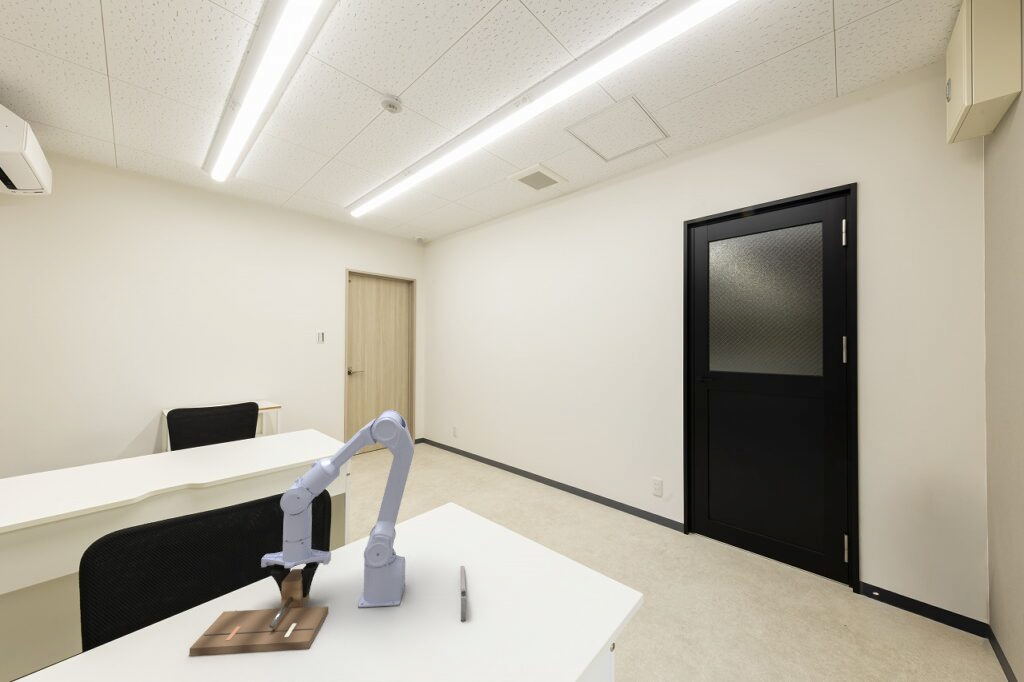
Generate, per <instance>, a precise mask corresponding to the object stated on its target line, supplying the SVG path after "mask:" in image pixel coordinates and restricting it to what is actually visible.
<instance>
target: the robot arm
mask: <svg viewBox="0 0 1024 682" xmlns="http://www.w3.org/2000/svg"><path fill="white" fill-rule="evenodd" d="M377 442H378V443H380V444H381V445H382V446H384V447H386V448H387V449H388V451H389V452H390V453H391V455H392V457H393V458H392V462H391V466H390V469H389V474H388V476H387V481H386V485H385V488H384V493H383V497H382V501H381V503H380V508H379V511H378V512H379V513H378V515H377V519H376V524H375V525H374V526H373V527H372V528H371V530H370V533H369V536H368V537H369V538H368V541H367V543H366V547H365V549H364V551H363V560H364V561H363V562H364V564H363V565H364V567H363V592H362V594H361V597H360V599H359V601H358V604H357V608H369V607H389V606H392V607H393V606H400V604H401V601H402V598H403V594H404V592H405V591H404V590H405V587H406V557H405V556H401V555H397V552H396V551H395V549H394V542H395V539H396V529H395V528H396V527H395V526H396V523H397V518H398V515H399V511H400V507H401V504H402V499H403V496H404V491H405V488H406V484H407V481H408V478H409V477H408V476H409V473H410V470H411V469H410V468H411V466H412V462H413V458H414V454H415V444H414V441H413V439H412V436H411V433H410V430H409V428H408V422H407V421H406V419H405V418H404V417H403V416H402V415H401V413H399V412H398V411H396V410H392V409H388V410H385V411H383V412H381V413H380V414H379V416H378V417H375V418H374V419H372V420H371V421H369V422H368V423H367V424H365V425H364V426H363V427H361V428H360V429H359V430H358V431H357V432H356V433H355V434H354V435H353V436H352V437H351V438H350V439H349V440H348V441H347V442H346V443H344V445H343V446H342V447H341V448H339V450H338V451H337V452H336V453H334V454H333V455H332V456H331V457H324V458H321V459H319V461H318V460H315V461H314V462H312V464H311V465H310V466H311V468H310V469H309V470H308V471H306V473H304V475H302V476H298V477H297V478H296V479H295V480H294V482H295V483H293V484H292V485H291V486H290V487H289V488H288V489H287V490H286V491H284V493H283V495H282V496H281V499H280V502H279V506H280V508H281V510H282V511H283V527H282V528H283V530H282V533H283V534H282V551H280V552H275V553H266V554H265V555H263V556H262V558H261V560H260V561H261V562H260V563H261V564H260V566H261V567H260V568H266V567H267V566H273V567H272V570H271V571H270V576H271V577H272V579H273V580H274V581H275V583H276V584H277V588H278V590H279V593H280V594H281V593H282V582H283V580H284V579H285V578H286V577H287V575H288V574H289V573H290V572H291V570H292V569H294V567H295V566H299V565H305V566H304V567H303V568H301V569H302V571H301V574H302V579H303V598H304V597H307V595H308V594H309V595H310V592H311V587H312V584H313V583H312V582H313V580H314V576H315V574H316V572H317V570H318V568H319V565H320V564H323V565H324V566H327V565H329V563H330V562H331V561H332V551H323V550H318V549H314V548H313V549H312V528H313V527H312V521H313V519H312V518H313V514H312V513H313V512H312V507H313V506H312V505H313V503H312V502H313V500H314V499H315V497H319V495H320V494H321V493H322V492H324V490H325V489H327V488H328V487H329V486H330V485H331V484H332V483H333V482H334V481H335V480H336V479H338V477H339V476H340V472H341V467H342V466H343V465H345V464H346V463H347V462H348V461H349V460H350V459H351V458H353V456H355V455H356V454H357V453H358V452H359V451H361V449H363V448H364V447H366V446H375V445H376V444H377Z"/></svg>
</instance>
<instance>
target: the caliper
mask: <svg viewBox="0 0 1024 682" xmlns="http://www.w3.org/2000/svg"><path fill="white" fill-rule="evenodd" d="M465 576H466V575H465V565H460V621H461V622H462V621H464V622H465V621H466V604H467V599H466V598H467V597H466V595H467V594H466V593H467V591H466V589H467V588H466V579H465V578H466V577H465Z"/></svg>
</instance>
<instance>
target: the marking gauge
mask: <svg viewBox="0 0 1024 682" xmlns="http://www.w3.org/2000/svg"><path fill="white" fill-rule="evenodd" d="M302 569H303V568H291V570H290V573H289V574H288V575H287V577H286V578H285V579H284V580H283V582H282V593H280V597H281V602H280V603H281V604H280V608H279V609H280V611H279V612H278V614H277V615H276V616H275V618H274V619H273V621H272V622H271V623H270V625H269V627H270V628H272V631H274V630H275V625H276V623H277V622H278V620H279V619H280V618H281V616H282V615H283V613H284V612H285V610H286V609H287V608H304V607H305V606H306V603H307V602H308V601H309V599H310V593H309V594H308V595H307V597H304V598H303V579H302V574H301V571H302Z"/></svg>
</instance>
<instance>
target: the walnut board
mask: <svg viewBox="0 0 1024 682" xmlns="http://www.w3.org/2000/svg"><path fill="white" fill-rule="evenodd" d="M280 609H281V608H269V609H268V608H267V609H248V610H245V609H244V610H232V611H231V610H229V611H226V610H225V611H223V612H222V613H221V614H220V615H219V616H218V617H217V618H216V619H215V620H214V622H213V623H212V624H211V625H210V626H209V627H208V628H207V629H206V630H205V631H204V632H203V633H202V635H200V637H199V638H198V639H197V640H195V642H194V643H192V645H191V646H190V647H189V651H188V653H189V656H188V657H198V656H199V657H200V656H211V655H212V656H217V655H227V654H228V655H231V654H232V655H233V654H243V653H244V654H246V653H263V652H276V651H279V652H280V651H294V650H309V649H310V648H311V647H312V644H313V642H314V640H315V638H316V637H317V635H318V633H319V631H320V629H321V627H322V626H323V624H324V622H325V620H326V618H327V617H328V615H329V605H328V606H309V607H305V606H304V607H303V608H287V609H286V610H285V612H284V613H283V615H282V616H281V618H280V619H279V620H278V622H277V623H276V625H275V630H274V631H272V628H270V627H269V625H270V623H271V622H272V621H273V619H274V618H275V616H276V615H277V614H278V612H279V611H280Z"/></svg>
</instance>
